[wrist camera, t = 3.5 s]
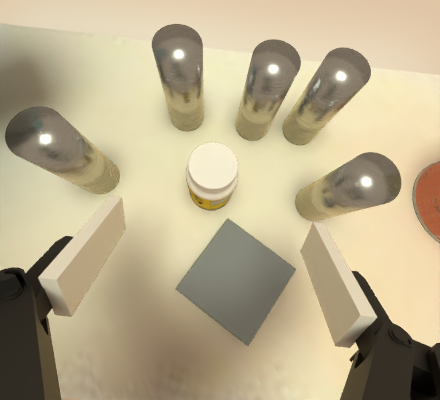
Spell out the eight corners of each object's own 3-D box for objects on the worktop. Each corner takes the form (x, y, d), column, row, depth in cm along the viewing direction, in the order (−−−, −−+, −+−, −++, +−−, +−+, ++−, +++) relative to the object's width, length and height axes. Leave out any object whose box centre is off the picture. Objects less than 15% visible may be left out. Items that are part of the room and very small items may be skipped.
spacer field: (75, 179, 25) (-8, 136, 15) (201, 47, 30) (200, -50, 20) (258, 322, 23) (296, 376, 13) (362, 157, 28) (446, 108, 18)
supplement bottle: (183, 180, 26) (173, 148, 18) (220, 165, 27) (227, 128, 18) (200, 218, 25) (197, 203, 17) (237, 201, 26) (253, 179, 18)
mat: (176, 287, 23) (175, 289, 23) (227, 219, 25) (228, 218, 24) (246, 342, 23) (247, 346, 22) (293, 268, 25) (296, 269, 24)
